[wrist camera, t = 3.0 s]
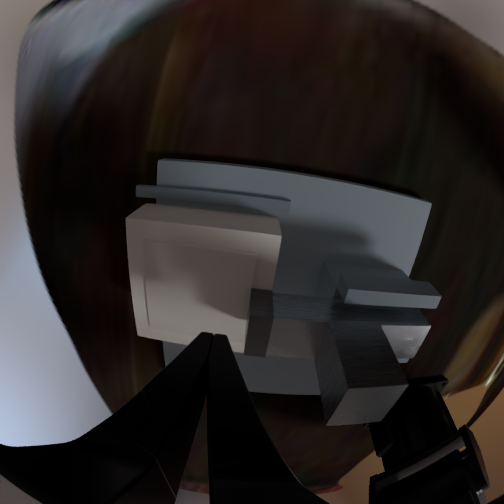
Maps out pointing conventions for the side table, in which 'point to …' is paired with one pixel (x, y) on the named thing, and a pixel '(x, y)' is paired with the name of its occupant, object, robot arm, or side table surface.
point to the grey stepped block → (339, 348)
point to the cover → (198, 270)
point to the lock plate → (310, 245)
